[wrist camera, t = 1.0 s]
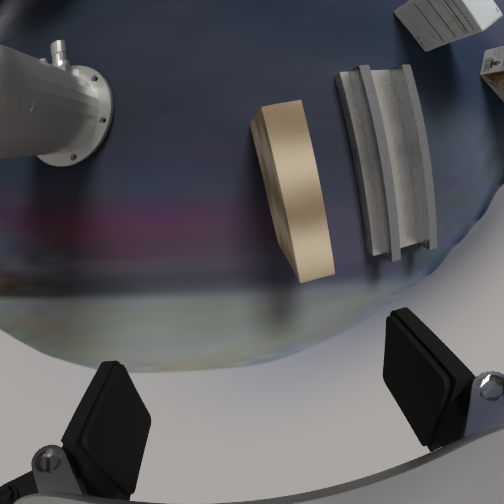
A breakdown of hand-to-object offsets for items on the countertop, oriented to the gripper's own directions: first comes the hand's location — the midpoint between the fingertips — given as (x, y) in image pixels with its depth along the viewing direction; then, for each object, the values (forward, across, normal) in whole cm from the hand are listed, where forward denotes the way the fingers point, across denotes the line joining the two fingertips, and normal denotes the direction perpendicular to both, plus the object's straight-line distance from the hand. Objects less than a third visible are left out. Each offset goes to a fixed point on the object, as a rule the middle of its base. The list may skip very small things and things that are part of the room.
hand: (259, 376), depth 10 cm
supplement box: (+27, -30, -24) cm, 47 cm away
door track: (+26, -19, -4) cm, 33 cm away
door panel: (+26, -5, -4) cm, 27 cm away
